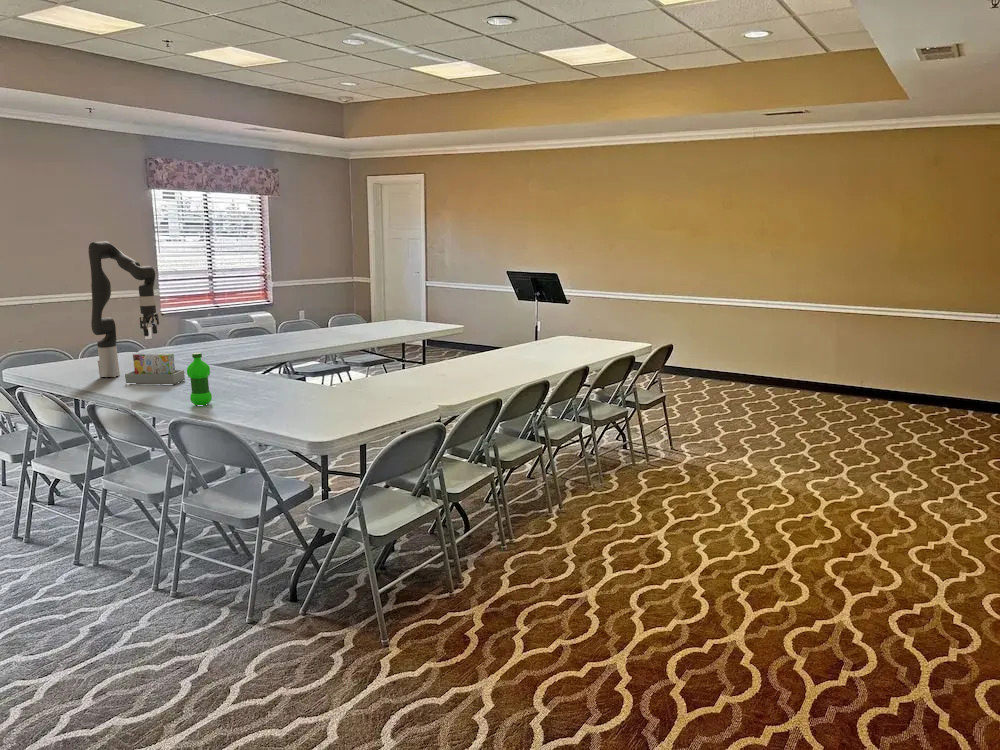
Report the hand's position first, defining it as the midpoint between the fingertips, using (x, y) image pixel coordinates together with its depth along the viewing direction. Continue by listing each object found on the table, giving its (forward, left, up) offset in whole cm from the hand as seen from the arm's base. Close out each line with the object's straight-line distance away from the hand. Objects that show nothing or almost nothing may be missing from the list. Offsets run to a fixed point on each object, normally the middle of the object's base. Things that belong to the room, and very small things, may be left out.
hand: (150, 334), depth 393 cm
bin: (0, 0, -26) cm, 26 cm away
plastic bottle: (+47, -45, -26) cm, 70 cm away
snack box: (0, 0, -26) cm, 26 cm away
